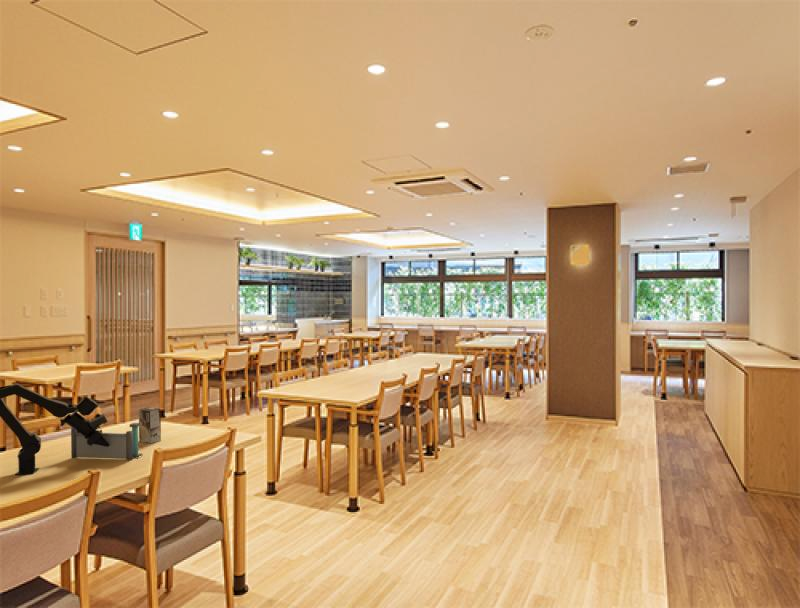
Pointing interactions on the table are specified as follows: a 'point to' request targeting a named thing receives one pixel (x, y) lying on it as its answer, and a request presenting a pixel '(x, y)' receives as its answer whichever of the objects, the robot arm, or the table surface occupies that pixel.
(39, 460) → the table surface
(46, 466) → the table surface
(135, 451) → the post
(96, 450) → the gate
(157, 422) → the coffee box
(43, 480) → the table surface
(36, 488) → the table surface
